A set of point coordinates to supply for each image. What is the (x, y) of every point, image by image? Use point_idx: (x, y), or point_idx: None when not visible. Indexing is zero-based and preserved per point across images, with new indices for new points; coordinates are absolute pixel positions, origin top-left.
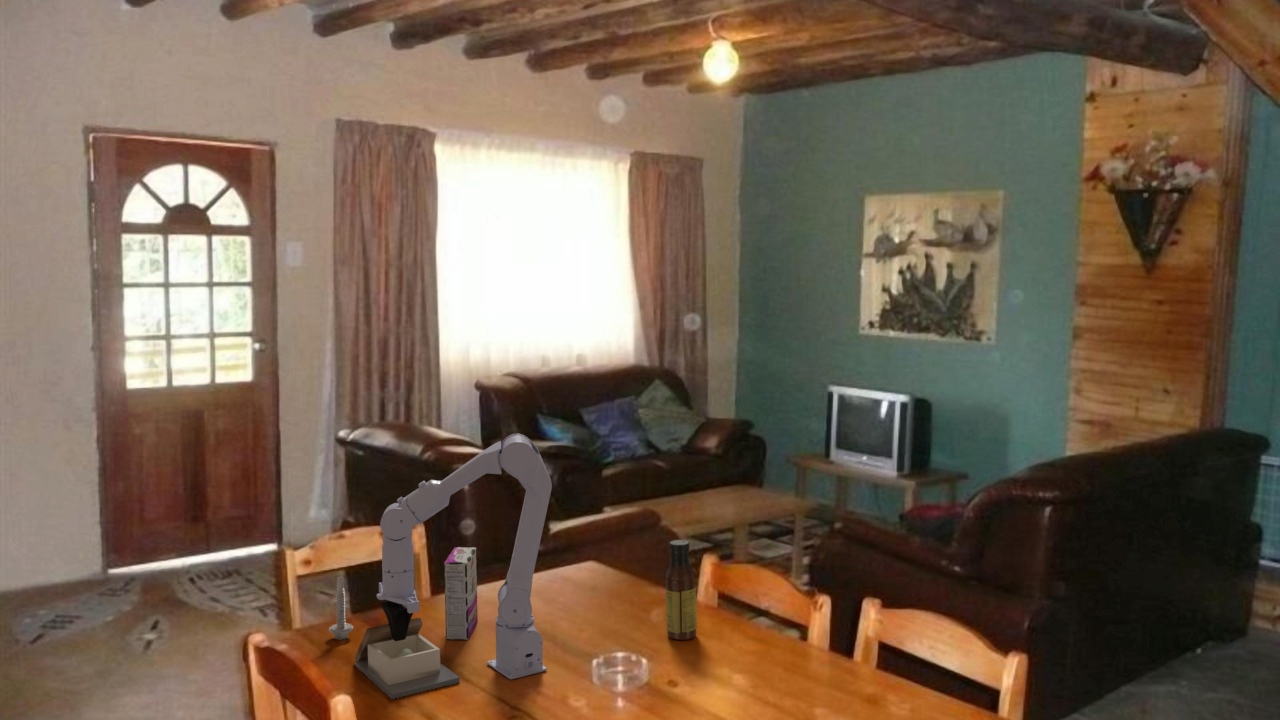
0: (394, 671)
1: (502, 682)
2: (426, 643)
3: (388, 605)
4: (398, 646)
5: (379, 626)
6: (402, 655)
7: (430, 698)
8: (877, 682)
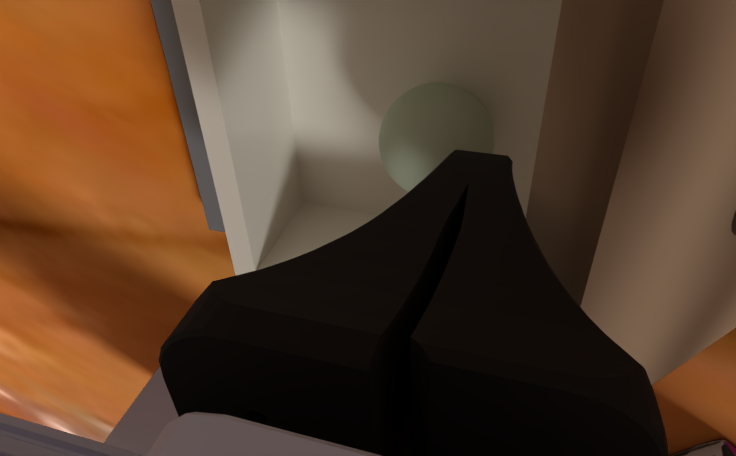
0: None
1: (171, 306)
2: None
3: (337, 400)
4: None
5: (615, 132)
6: (394, 117)
7: (101, 36)
8: None
